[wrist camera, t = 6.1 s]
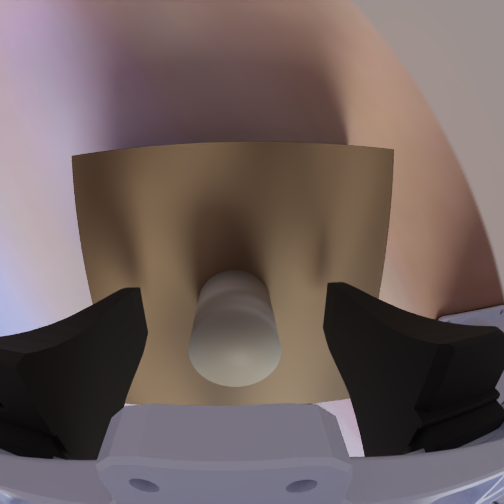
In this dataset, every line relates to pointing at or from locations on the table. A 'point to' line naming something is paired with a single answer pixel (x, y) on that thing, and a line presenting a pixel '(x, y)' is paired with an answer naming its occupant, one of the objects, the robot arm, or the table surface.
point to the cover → (234, 260)
